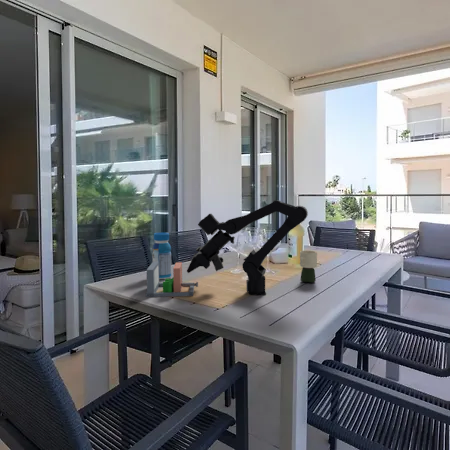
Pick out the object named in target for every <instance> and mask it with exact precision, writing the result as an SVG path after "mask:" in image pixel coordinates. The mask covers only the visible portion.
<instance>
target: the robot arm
mask: <svg viewBox="0 0 450 450" xmlns="http://www.w3.org/2000/svg"><path fill="white" fill-rule="evenodd" d="M276 212H278V213H280V214H282V215H284V216H286V218H285V221H284V222H283V223H282V224H281V225H280V226H279V228H277V230H276V231H275V232H274V234H272V235H271V236H270V237H269V238H268V240H267V241H266V242H265V243H264V244H263V245H262V246H261V247H260V248H259V249H258V250H257V251H256V250H254V249H253V250H251V251H250V252H249V253H248V255H247V256H245V258H243V263H242V270H243V271H244V273H246V276H247V279H245V280H246V283H245V284H246V285H245V286H246V289H245V290H246V292H247V293H248V295H252V296H253V295H267V292H266V276H265V274H266V272H267V270H266V268H265V266H264V265H263V263H264V261H265V259H266V257H267V256H268V255H269V254H270V253H271V252H272V251H273V249H275V248H276V247H277V246H278V244H279V243H281V241H282V240H283V239H284V238H285V237H286V236H287V235H288V234H289V232H291V231H292V230H293V229H295V228H296V227H298V226H299V225H300V224H302V223H303V222H305V220H306V219H307V218H308V215H309V213H308V210H307V208H306V207H305V206H303V205H297V206H295V205H292V204H289V203H286V202H283V201H281V200H278V199H277V200H273V201H272V202H271V203H268V204H267V205H265V206H261V207H260V208H258V209H256V210H253V211H251V212H250V213H247V214H244V215H241V216H238V217H233V218H231V219H230V218H229V219H227V220H226V221H225V222H224V221H221V222H220V221H219V220H218V219H217V218H215V216H214V215H213V214H212V213H208V214H207V215H206V216H205V217H204V218H201V220H200V221H199V222H198V224H197V226H198V227H199V228H200V229H201V230H202V231H203V232H204V233H205V234H206V235H207V236H209V235H210V236H212V237H211V238H210V239H208V240H207V241H206V243H205V244H204V245H203V246H201V245H200V246H198V247H197V248H196V249H195V252H194V254H193V256H192V257H191V260H190V262H189V265H188V268H187V269H186V272H187V274H190V273H191V272H193V271H195V270H196V269H199V267H203V268H204V269H205V270H207V269H209V267H210V266H211V262H212V264H213V267H214V269H215V271H216V272H218V271H221V270H222V269H224V265H223V263H224V261H225V260H224V259H223V256H219V254H220V252H221V250H222V249H223V248H224V247H225V246H226V245H227V244H228V243H229V242H230V243H231V244H235V239H236V238H235V237H236V236H233V235H234V234H237V233H239V232H241V231H242V230H244V229H245V228H246V227H248V226H249V225H251V224H253V223H254V222H256V221H257V222H258V221H259V220H261V219H263V218H265V217H267V216H271V215H272V214H275V213H276ZM224 231H225V232H224ZM196 252H197V253H196Z"/></svg>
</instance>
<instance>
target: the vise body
mask: <svg viewBox="0 0 450 450" xmlns="http://www.w3.org/2000/svg"><path fill="white" fill-rule="evenodd" d="M160 287H163V282H160V279H159V262H153V261H151V264H150V265H149V266H148V267H147V269H146V292H145V297H193V296H194V291H195V290H194V289H195V286H189V290H188V291H181V292H163V291H162V292H157V291H158V289H159V288H160Z"/></svg>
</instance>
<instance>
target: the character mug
mask: <svg viewBox="0 0 450 450" xmlns="http://www.w3.org/2000/svg"><path fill="white" fill-rule="evenodd" d="M299 259H300V260H299V266H300V267H301V268H302V269H301V274H300V281H301V282H305V283H306V282H307V283H315V282H316V281H317V280H316V271H315V268H317V266H318V252H317V251H315V250H300V251H299Z"/></svg>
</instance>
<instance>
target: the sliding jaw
mask: <svg viewBox="0 0 450 450" xmlns="http://www.w3.org/2000/svg"><path fill="white" fill-rule="evenodd" d="M172 269H173V270H172V271H173V272H172V273H173V277H172V278H173V279H174V292H182V290H183V287H190V286H194V287H195V288H197V287H199V282H197V281H196V282H183V262H179V261H178V262H175V264H174V266H173V268H172Z"/></svg>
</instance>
